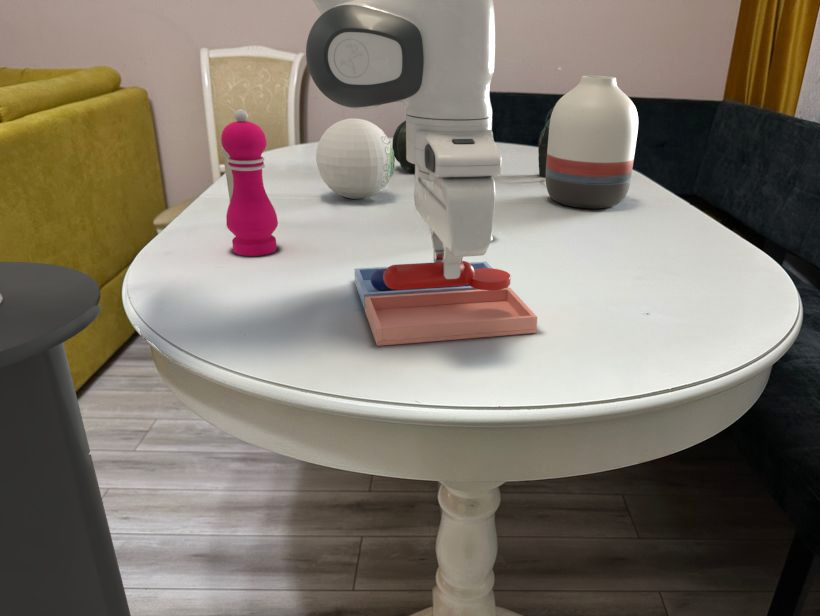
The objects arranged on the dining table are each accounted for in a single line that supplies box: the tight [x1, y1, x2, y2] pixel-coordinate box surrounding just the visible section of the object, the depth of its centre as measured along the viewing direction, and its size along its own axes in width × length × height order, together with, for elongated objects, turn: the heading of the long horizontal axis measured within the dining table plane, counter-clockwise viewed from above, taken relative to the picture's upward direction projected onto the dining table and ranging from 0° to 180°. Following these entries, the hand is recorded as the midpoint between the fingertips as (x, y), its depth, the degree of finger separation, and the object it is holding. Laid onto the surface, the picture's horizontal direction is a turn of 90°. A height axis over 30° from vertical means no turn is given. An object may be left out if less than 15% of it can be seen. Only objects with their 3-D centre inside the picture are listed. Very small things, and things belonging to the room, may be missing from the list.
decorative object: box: [315, 117, 396, 200], centre depth 130 cm, size 15×15×15 cm
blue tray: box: [353, 261, 509, 311], centre depth 87 cm, size 18×10×2 cm, turn 105°
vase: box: [544, 75, 639, 210], centre depth 132 cm, size 17×17×24 cm
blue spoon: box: [371, 269, 469, 291], centre depth 87 cm, size 15×5×3 cm, turn 105°
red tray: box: [364, 287, 538, 347], centre depth 78 cm, size 18×10×2 cm, turn 105°
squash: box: [391, 120, 415, 173], centre depth 159 cm, size 14×15×15 cm
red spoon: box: [383, 260, 512, 290], centre depth 76 cm, size 15×5×3 cm, turn 105°
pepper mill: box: [220, 108, 279, 257], centre depth 97 cm, size 7×7×20 cm
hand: (446, 271), depth 76 cm, fingers closed on red spoon, 3 cm apart
